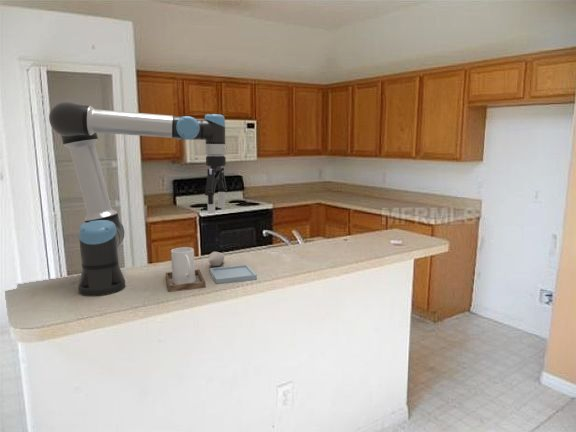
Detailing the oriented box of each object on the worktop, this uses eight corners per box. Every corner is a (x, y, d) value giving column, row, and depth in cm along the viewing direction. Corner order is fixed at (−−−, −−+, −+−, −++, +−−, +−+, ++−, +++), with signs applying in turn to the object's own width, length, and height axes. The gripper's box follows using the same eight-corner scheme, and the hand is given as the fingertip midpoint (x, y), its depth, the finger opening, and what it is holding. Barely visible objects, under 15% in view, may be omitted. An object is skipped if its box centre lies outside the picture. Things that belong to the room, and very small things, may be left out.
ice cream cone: (207, 271, 168) (219, 267, 183) (218, 262, 167) (230, 258, 182) (198, 259, 168) (211, 256, 183) (209, 250, 168) (221, 247, 183)
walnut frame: (168, 291, 146) (168, 286, 145) (165, 277, 161) (165, 272, 161) (205, 287, 150) (205, 281, 149) (199, 274, 165) (199, 269, 165)
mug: (200, 285, 152) (199, 252, 150) (176, 289, 148) (174, 255, 146) (193, 276, 162) (191, 245, 160) (170, 279, 159) (168, 248, 157)
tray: (216, 284, 153) (216, 279, 153) (209, 272, 167) (209, 268, 167) (256, 279, 158) (256, 274, 158) (247, 268, 172) (247, 264, 172)
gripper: (215, 156, 151) (216, 215, 154) (233, 155, 175) (234, 206, 179) (195, 156, 152) (196, 214, 155) (215, 155, 176) (216, 205, 180)
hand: (216, 210), depth 167 cm, fingers open, 13 cm apart
